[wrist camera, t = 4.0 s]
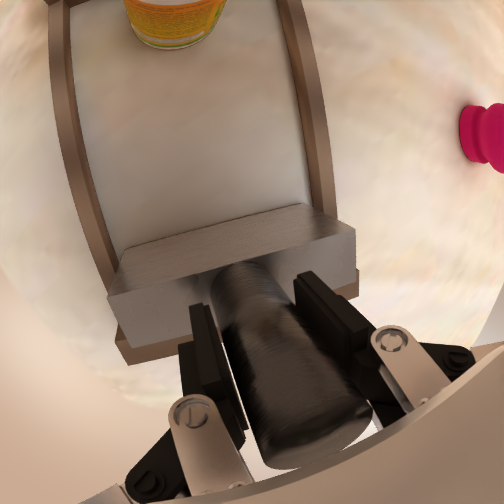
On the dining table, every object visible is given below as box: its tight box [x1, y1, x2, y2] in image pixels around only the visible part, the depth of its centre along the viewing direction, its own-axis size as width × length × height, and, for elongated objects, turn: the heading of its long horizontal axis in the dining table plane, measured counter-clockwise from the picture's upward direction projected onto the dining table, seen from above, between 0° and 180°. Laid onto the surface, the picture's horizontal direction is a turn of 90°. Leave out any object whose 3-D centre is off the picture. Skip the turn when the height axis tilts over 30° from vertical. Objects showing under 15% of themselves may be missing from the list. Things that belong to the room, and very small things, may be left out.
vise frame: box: [44, 0, 359, 366], centre depth 11 cm, size 27×16×8 cm, turn 10°
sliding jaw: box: [107, 203, 373, 470], centre depth 12 cm, size 3×12×14 cm, turn 100°
